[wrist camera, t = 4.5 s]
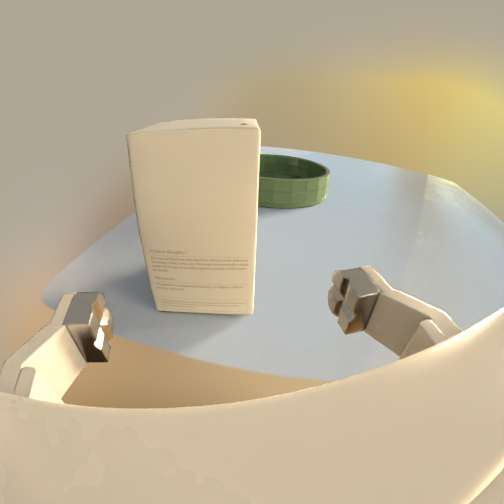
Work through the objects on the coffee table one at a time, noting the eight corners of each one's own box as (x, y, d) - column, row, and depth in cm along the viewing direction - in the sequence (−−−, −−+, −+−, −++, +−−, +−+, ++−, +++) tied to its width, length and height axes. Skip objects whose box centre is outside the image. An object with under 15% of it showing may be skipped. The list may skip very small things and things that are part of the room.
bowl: (216, 207, 36) (216, 178, 34) (224, 173, 51) (224, 153, 49) (341, 211, 37) (345, 184, 35) (312, 176, 52) (314, 157, 49)
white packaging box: (254, 260, 25) (260, 117, 19) (253, 318, 19) (263, 125, 12) (175, 257, 25) (164, 119, 19) (152, 311, 19) (123, 131, 12)
